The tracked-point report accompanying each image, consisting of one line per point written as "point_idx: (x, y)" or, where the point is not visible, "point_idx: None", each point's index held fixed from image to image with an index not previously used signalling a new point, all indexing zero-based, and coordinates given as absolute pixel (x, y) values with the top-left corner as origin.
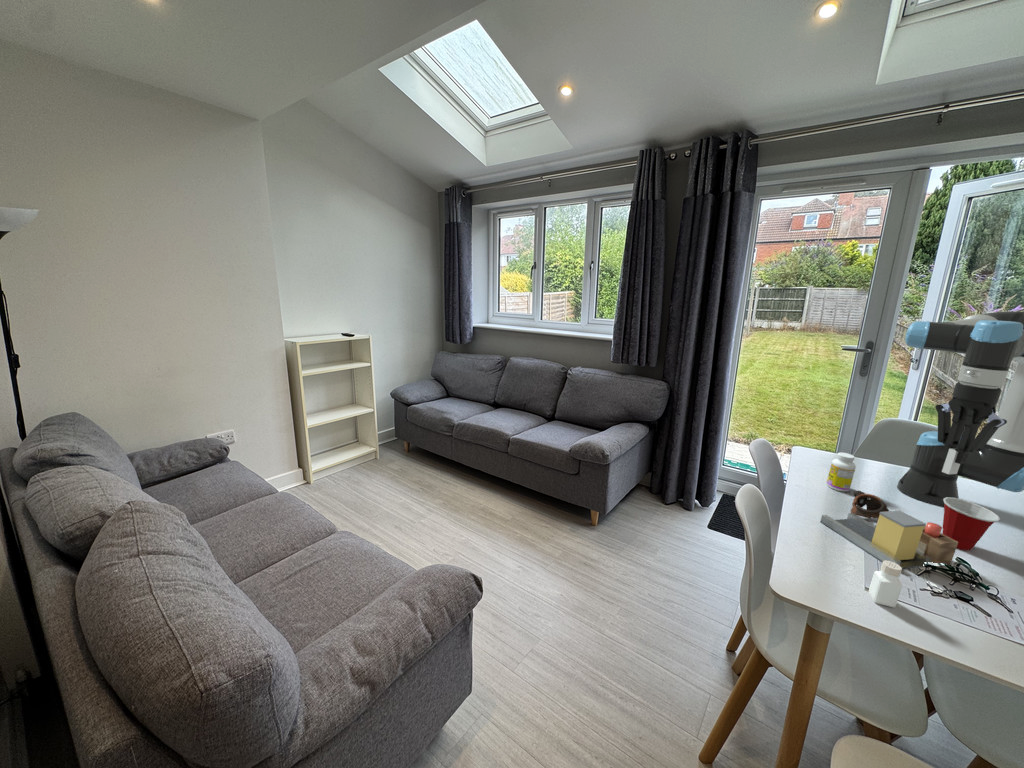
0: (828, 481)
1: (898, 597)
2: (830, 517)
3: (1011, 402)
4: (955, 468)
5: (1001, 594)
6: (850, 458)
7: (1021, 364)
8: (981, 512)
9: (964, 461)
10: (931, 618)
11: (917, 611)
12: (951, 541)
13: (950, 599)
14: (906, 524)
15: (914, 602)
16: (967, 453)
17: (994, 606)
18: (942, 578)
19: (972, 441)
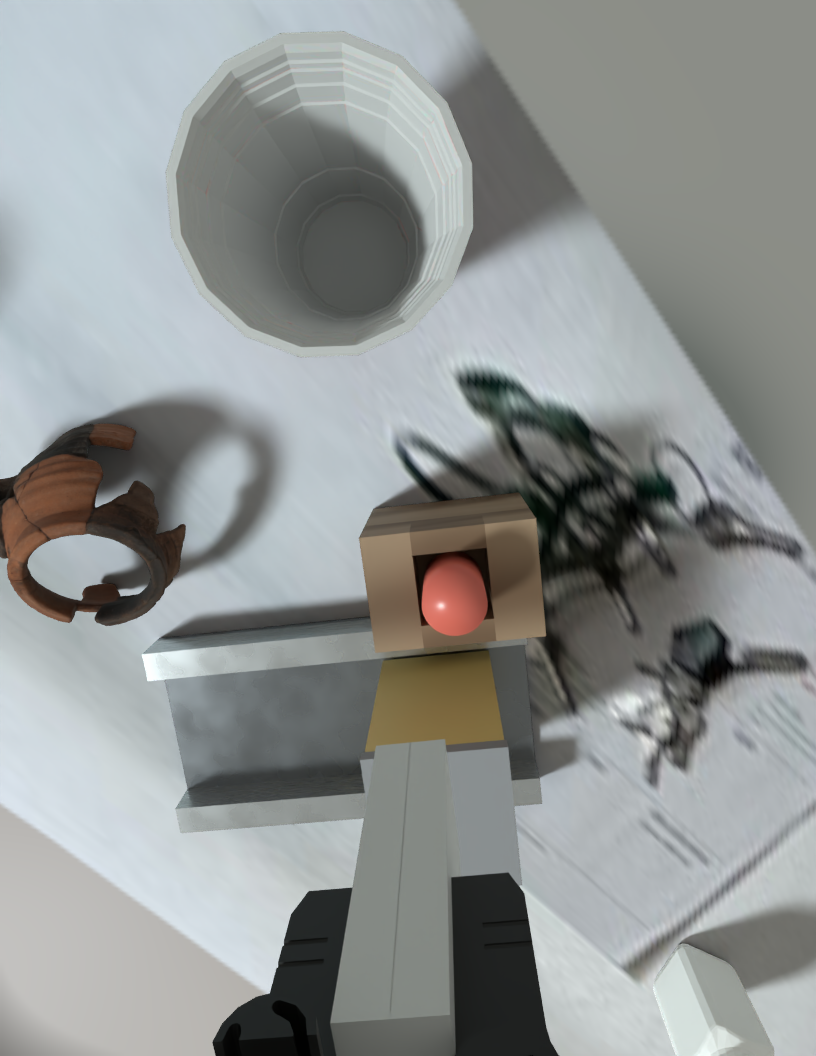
0: None
1: (751, 1003)
2: (199, 807)
3: None
4: (452, 831)
5: (709, 469)
6: None
7: None
8: (308, 77)
9: (527, 920)
10: (785, 884)
11: (751, 899)
12: (529, 554)
13: (712, 721)
14: (512, 867)
15: (711, 869)
16: (545, 1043)
17: (765, 585)
18: (598, 624)
19: None
